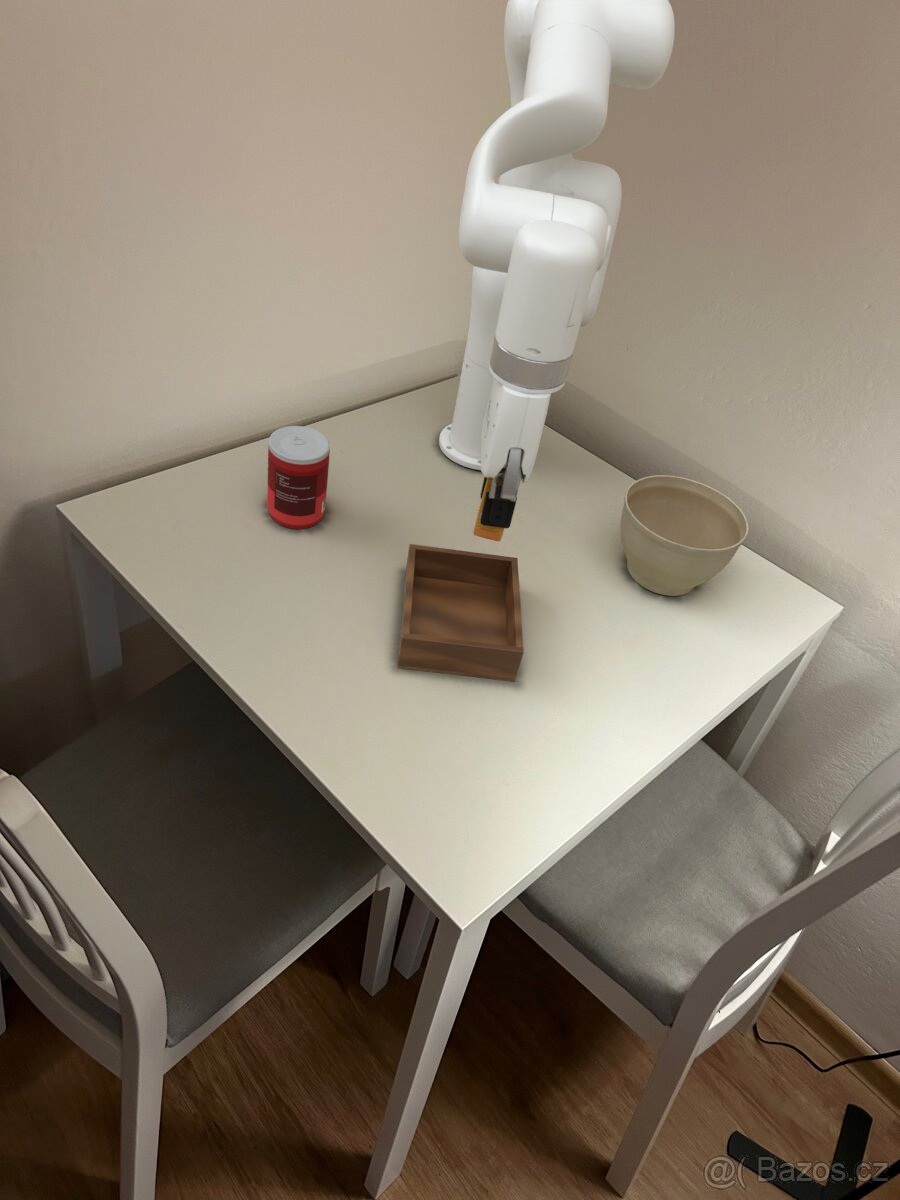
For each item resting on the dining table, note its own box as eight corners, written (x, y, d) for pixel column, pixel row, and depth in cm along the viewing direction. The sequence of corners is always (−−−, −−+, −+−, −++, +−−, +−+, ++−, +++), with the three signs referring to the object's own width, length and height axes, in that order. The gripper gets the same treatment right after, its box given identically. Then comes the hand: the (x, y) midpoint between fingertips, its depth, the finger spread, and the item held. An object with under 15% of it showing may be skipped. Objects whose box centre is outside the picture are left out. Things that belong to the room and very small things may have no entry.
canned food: (305, 488, 124) (309, 420, 117) (336, 521, 120) (342, 451, 113) (255, 503, 120) (256, 432, 113) (285, 536, 116) (288, 465, 108)
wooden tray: (404, 573, 114) (409, 543, 111) (509, 586, 115) (517, 557, 112) (397, 667, 102) (402, 637, 98) (514, 681, 103) (523, 652, 100)
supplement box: (502, 543, 98) (521, 469, 91) (472, 536, 98) (488, 460, 91) (507, 526, 100) (526, 451, 94) (477, 518, 101) (494, 443, 94)
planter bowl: (743, 599, 121) (774, 536, 114) (649, 626, 114) (677, 560, 107) (670, 528, 131) (695, 466, 123) (580, 548, 124) (601, 484, 116)
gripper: (490, 315, 91) (461, 464, 103) (491, 399, 79) (458, 557, 91) (563, 326, 91) (525, 473, 104) (575, 412, 79) (531, 567, 92)
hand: (494, 511), depth 97 cm, fingers closed on supplement box, 3 cm apart
